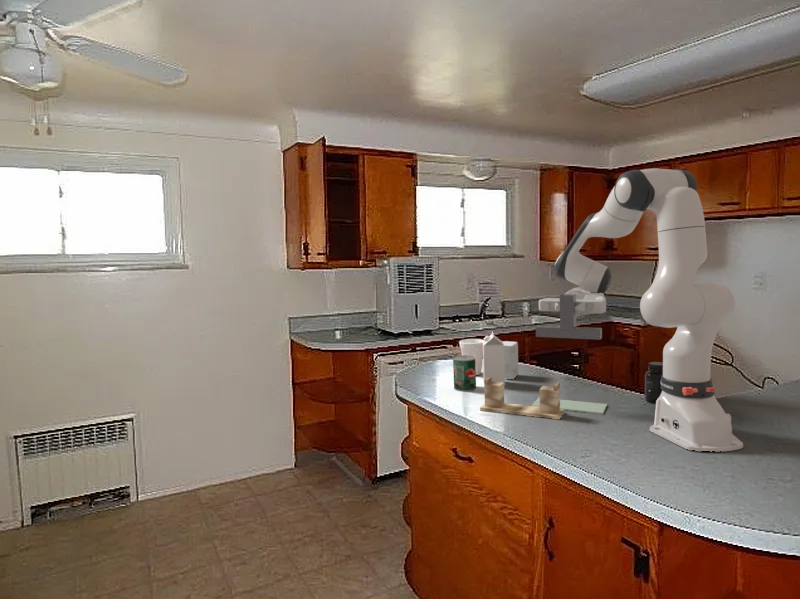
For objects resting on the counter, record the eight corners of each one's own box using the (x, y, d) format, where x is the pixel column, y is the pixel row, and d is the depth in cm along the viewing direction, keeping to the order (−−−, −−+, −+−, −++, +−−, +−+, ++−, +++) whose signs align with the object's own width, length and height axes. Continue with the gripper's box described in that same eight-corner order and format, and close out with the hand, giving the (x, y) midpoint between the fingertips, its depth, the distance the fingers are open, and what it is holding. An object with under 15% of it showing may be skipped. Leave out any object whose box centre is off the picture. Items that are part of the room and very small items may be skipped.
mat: (607, 405, 168) (607, 404, 168) (602, 414, 160) (602, 412, 160) (538, 398, 178) (538, 397, 178) (531, 406, 170) (531, 405, 170)
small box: (502, 374, 212) (501, 340, 210) (518, 375, 209) (518, 341, 207) (496, 379, 205) (495, 344, 203) (512, 380, 202) (512, 345, 200)
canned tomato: (476, 391, 190) (475, 360, 189) (453, 391, 191) (452, 360, 190) (476, 385, 198) (475, 355, 196) (454, 385, 199) (453, 355, 198)
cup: (490, 375, 211) (490, 341, 209) (467, 378, 207) (466, 344, 205) (477, 369, 220) (476, 337, 218) (455, 373, 216) (454, 340, 215)
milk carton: (503, 381, 201) (502, 330, 199) (505, 386, 194) (503, 333, 192) (483, 381, 201) (482, 331, 199) (484, 387, 194) (483, 334, 192)
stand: (564, 412, 163) (564, 381, 162) (559, 419, 157) (559, 387, 156) (487, 404, 175) (486, 375, 174) (480, 410, 168) (479, 380, 167)
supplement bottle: (640, 399, 172) (640, 362, 171) (658, 397, 174) (658, 360, 173) (655, 405, 166) (655, 367, 165) (674, 403, 168) (674, 364, 166)
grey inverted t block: (602, 337, 164) (602, 294, 162) (600, 339, 160) (599, 295, 159) (538, 334, 173) (538, 293, 171) (535, 337, 169) (534, 295, 168)
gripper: (543, 292, 181) (532, 297, 169) (609, 293, 172) (602, 298, 160) (543, 311, 182) (533, 317, 170) (609, 313, 173) (602, 319, 160)
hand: (567, 308), depth 165 cm, fingers closed on grey inverted t block, 4 cm apart
